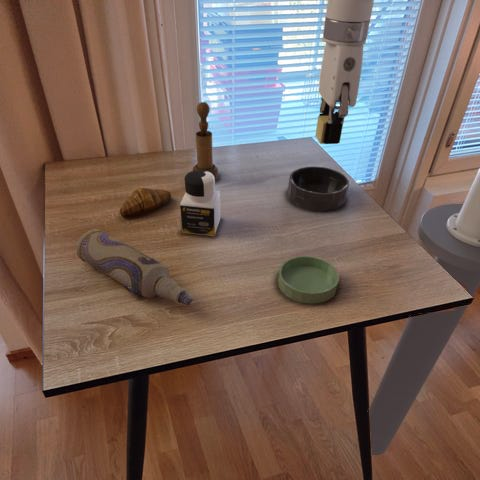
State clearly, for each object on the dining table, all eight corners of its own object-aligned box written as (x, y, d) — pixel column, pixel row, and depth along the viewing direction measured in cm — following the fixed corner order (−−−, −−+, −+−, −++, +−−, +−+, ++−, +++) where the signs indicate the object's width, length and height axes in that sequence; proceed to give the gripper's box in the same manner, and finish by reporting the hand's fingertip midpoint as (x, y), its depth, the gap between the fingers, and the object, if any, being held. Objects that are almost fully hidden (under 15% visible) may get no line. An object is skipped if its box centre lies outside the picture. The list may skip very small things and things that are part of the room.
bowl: (334, 182, 108) (338, 165, 105) (353, 210, 98) (357, 192, 95) (282, 184, 106) (283, 167, 103) (295, 213, 96) (297, 195, 93)
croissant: (161, 193, 101) (159, 173, 98) (178, 204, 98) (177, 184, 95) (113, 212, 95) (108, 192, 91) (129, 224, 91) (126, 204, 88)
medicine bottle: (182, 233, 89) (177, 181, 81) (189, 216, 94) (186, 165, 86) (214, 237, 89) (213, 184, 80) (220, 219, 94) (220, 168, 85)
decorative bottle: (78, 267, 80) (69, 238, 76) (109, 250, 85) (102, 221, 80) (175, 328, 69) (171, 298, 65) (204, 305, 74) (203, 275, 69)
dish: (326, 264, 83) (328, 253, 81) (344, 301, 75) (347, 290, 74) (272, 268, 82) (273, 258, 80) (285, 306, 74) (286, 295, 72)
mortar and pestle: (188, 180, 107) (183, 104, 94) (199, 169, 111) (196, 96, 98) (211, 185, 105) (209, 109, 92) (222, 174, 109) (222, 100, 97)
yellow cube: (333, 135, 87) (337, 115, 84) (339, 143, 84) (343, 122, 81) (315, 136, 86) (318, 115, 84) (320, 143, 84) (323, 123, 81)
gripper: (384, 42, 67) (358, 155, 80) (351, 21, 78) (333, 122, 91) (338, 42, 66) (320, 156, 79) (312, 21, 77) (300, 123, 90)
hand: (327, 137), depth 85 cm, fingers closed on yellow cube, 4 cm apart
